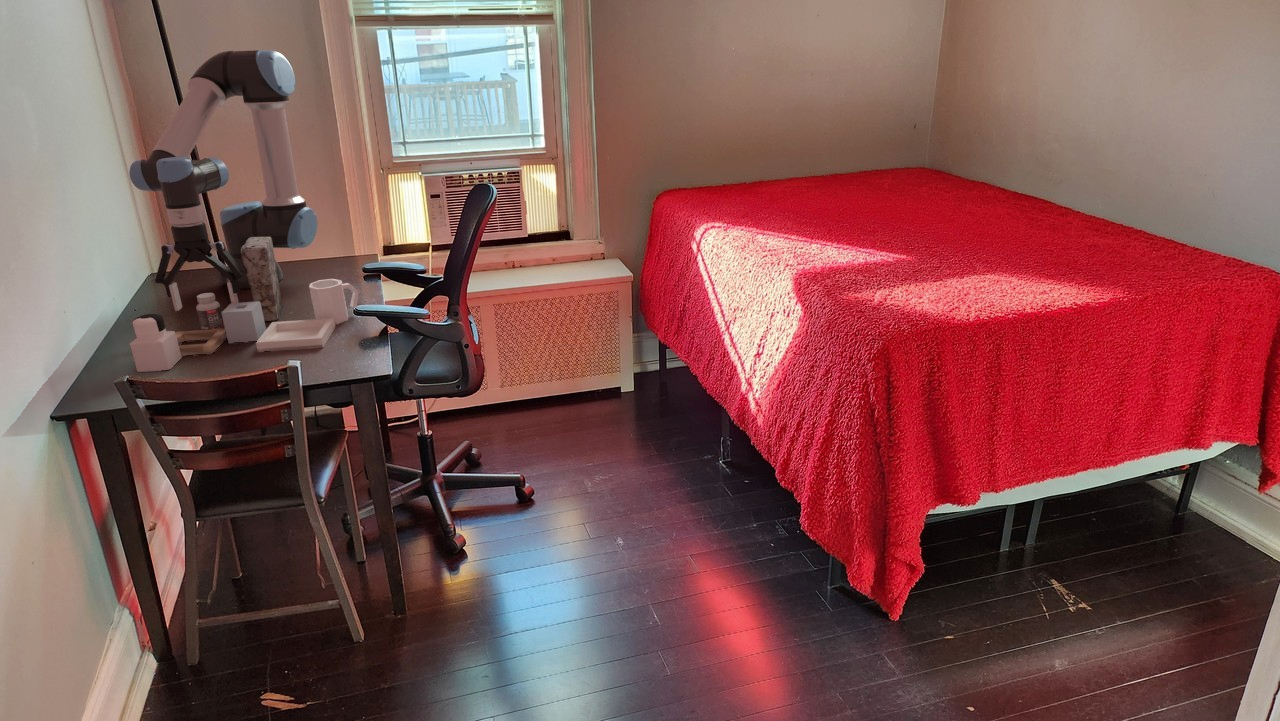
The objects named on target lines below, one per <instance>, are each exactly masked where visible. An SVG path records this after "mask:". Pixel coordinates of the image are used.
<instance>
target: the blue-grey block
mask: <svg viewBox="0 0 1280 721" xmlns="http://www.w3.org/2000/svg"><path fill="white" fill-rule="evenodd" d="M221 312H222V318H223V322H224V326H225V330H226V334H227V341H228V342H227V343H228V344H234V343H233V342H244V343H249V342H248V341H258V339H259V338H260V337H261V336H262V334H263V333H264V332H265V331H266V329H267V327H266V323H265V322H266V321H264V317H263V312H262V308H261V303H260V301H258V302H254V301H247V302H246V301H245V302H244V301H243V302H239V303H230V304H228V305H227V306H226V308H224V309H223V311H221Z"/></svg>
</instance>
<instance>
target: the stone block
mask: <svg viewBox="0 0 1280 721" xmlns="http://www.w3.org/2000/svg"><path fill="white" fill-rule="evenodd" d="M241 256H242V260H243V264H244V268H245V271H246V275H247V278H248V281H249V285H250V288H249V289H250V292H251V296H252V300H253V301H252V302H258V301H260V303H261V308H262V312H263V317H264V321H265V322H277V321H278V320H280V317H281V315H282V309H283V305H282V298H281V297H282V295H281V289H280V283H279V282H280V281H278V277H277V271H276V264H275V260H276V257H275V251H274V248H273V244H272V239H271V237H250V238H248V240H247V241H246V243H245V245H243V246H242V248H241Z"/></svg>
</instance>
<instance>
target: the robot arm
mask: <svg viewBox="0 0 1280 721" xmlns="http://www.w3.org/2000/svg"><path fill="white" fill-rule="evenodd" d="M295 86H296V78H295V73H294V70H293V67H292V65H291V64H290V62H289V60H288V59H287V58H286V57H285V56H284V55H283V54H282V52H281V53H280V52H278V51H276V50H264V49H258V50H255V49H253V50H225V51H222V52H219V53H217V54H214V55H213V56H211V57H209V58H208V59H207V60H205V62H204V63H202V64H201V65H200V66H199V67H198V68H197V70H195V72H194V73H193V74H192V75H191V77H190V79H189V80H188V83H187V90H188V91H187V93H186V94H185V96H184V98H183V99H182V101H181V102H180V105H178V107H177V109H176V111H175V113H174V114H173V116H172V117H171V119H170V120H169V122H168V124H167V126H166V127H165V129H164V131H163V132H162V134H161V136H160V138H159V139H158V141H157V142H156V144H155V145H154V147H153V149H152V151H151V152H150V154H149V156H148V158H146V159H139V160H135V161H133V162H132V163H131V165H130V167H129V172H128V173H129V179H130V181H131V183H132V184H133V186H134V188H136V189H138V190H140V191H145V192H146V191H147V192H153V193H154V192H155V193H156V192H162V196H163V199H164V203H165V209H166V214H167V217H168V222H169V224H170V225H172V226H171V228H170V230H171V235H172V240H173V241H174V244H170V243H165V244H164V245H162V246H161V250H160V251H161V257H160V261H159V265H158V269H157V272H156V275H155V278H154V279H155V280H154V282H155V283H156V284H162V285H163V286H164V287H165V291H166V292H165V293H166V295H167V297H168V298H171V300H172V304H173V308H174V311H175V312H178V311H180V310H181V309H182V308H183V304H182V300H181V296H180V292H179V288H178V283H177V282H174V280H175V278H176V277H177V275H178V273H179V272H180V270H181V269H182V267H183V266H184V264H185V263H186V262H188V263H194V262H197V263H201V262H206V263H207V264H209V265H210V266H212V267H213V268H214V269H216V271H218V272H219V274H221V275H223V276H224V277H225V278H226V279H227V282H226V285H227V289H228V293H229V299H230V302H231V303H240V302H239V298H238V294H239V293H240V290H241V289H251V288H250V285H249V281H248V278H247V275H246V271H245V268H244V264H243V260H242V256H241V248H242V246H243V245H245V243H246V241H247V240H248V238H250V237H271V239H272V244H273V249H291V250H295V249H303V248H307V247H309V246H311V244H312V243H313V242H314V240H315V238H316V236H317V232H318V217H317V214H316V212H315V210H314V209H313V208H311V207H308V206H307V204H306V203H307V201H306V199H305V198H304V197H302V196H301V195H300V194H299V189H298V188H299V187H298V182H297V176H296V175H297V174H296V169H295V163H294V156H293V151H292V146H291V139H290V133H289V128H288V126H289V125H288V120H287V114H286V109H285V108H286V106H287V105H288V104H289V103H290V97H289V96H290V95H292V94H294V92H295V90H296V87H295ZM236 96H239V97H242V98H243V99H242V101H243V104H244V105H246V107H248V108H249V109H250V110H251V111H250V112H251V116H252V123H253V127H254V133H255V137H256V138H255V139H256V144H257V150H258V156H259V161H260V167H261V168H260V169H261V171H262V172H261V173H262V177H263V184H264V190H265V195H266V197H265V199H264V200H263V201H262V202H261V201H259V200H255V201H253V200H252V201H246V202H243V203H236V204H233V205H230V206H227V207H225V208H223V209H222V210H220V212H219V218H220V226H221V228H222V233H223V236H224V241H223V240H219V241H217V242H211V241H210V239H209V233H208V229H207V224H206V223H205V222H204V221H205V215H204V210H203V208H202V202H201V198H200V194H204V193H207V192H210V191H215V190H218V189H220V188H222V187H224V186H225V185H227V184H228V181H229V178H230V172H229V169H228V167H227V165H226V163H224V161H222V160H221V159H220V158H216V157H204V158H202V159H190V158H189V157H190V155H191V153H192V151H193V150H194V148H195V146H196V144H197V143H198V141H199V140H200V138H201V136H202V135H203V132H204V131H205V130H206V127H207V126H208V124H209V122H210V120H211V119H212V117H213V116H214V113H215V111H216V110H217V108H220V107H222V106H223V105H224V104H225V103H226V101H227V100H228V99H230V98H233V97H236ZM225 245H226V246H225ZM212 249H213V250H214V251H215V252H217V254H218V255H219V256H220V258H221V259H222V260H223V262H224V263H223V262H222V261H221V260H219V259H218V258H217V257H216V255H215V254H214V253H213V252H211V251H212ZM174 252H175V253H177V254H178V255H179V257H178V258H177V260H176V261H175V263H174V264H173V266H172V268H171V269H170V271H169V273H168V274H167V271H168V267H169V264H170V261H171V256H172V254H173V253H174ZM275 264H276V271H277V277H278V282H281V281H282V279H283V278H284V275H283V270H282V268H281V267H280V265H279V263H278V261H277V259H275ZM166 274H167V276H166ZM231 303H230V304H231Z"/></svg>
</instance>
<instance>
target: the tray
mask: <svg viewBox="0 0 1280 721" xmlns="http://www.w3.org/2000/svg"><path fill="white" fill-rule="evenodd" d="M335 329H336V325H335V322H334V318H327V319H313V318H312V319H301V320H286V321H271V323H270V324H269V326H268V327H266V331H265V332H264V333H263V334H262V336H261V337H260V338H259V339H258V341H257V342H255V346H256V350H257V353H265V352H264V351H271V352H281V351H282V352H283V351H296V350H297V351H299V350H311V349H314V350H315V349H323V348H324V347H325V346H326V344H327V342H328V341H329V339H330V337H331V336H332V334H333V332H334V331H335Z"/></svg>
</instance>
